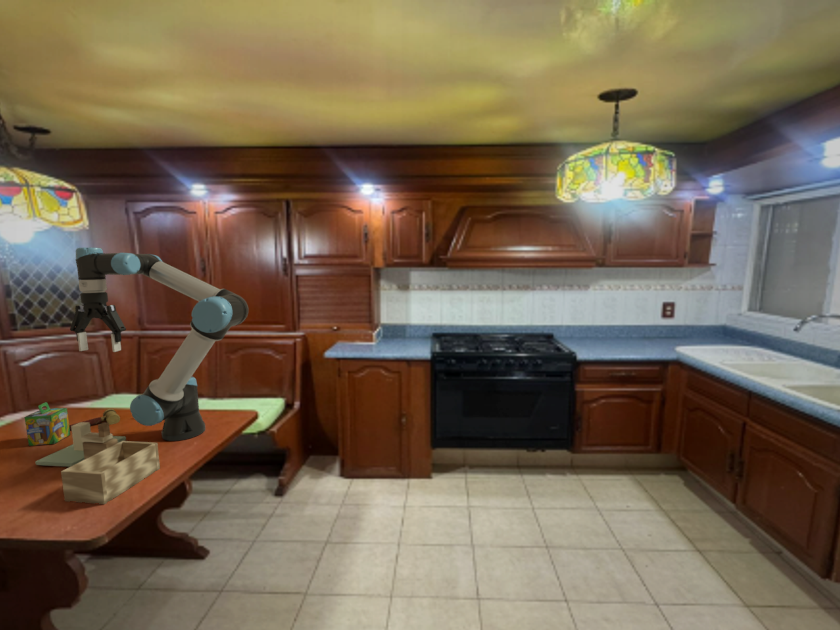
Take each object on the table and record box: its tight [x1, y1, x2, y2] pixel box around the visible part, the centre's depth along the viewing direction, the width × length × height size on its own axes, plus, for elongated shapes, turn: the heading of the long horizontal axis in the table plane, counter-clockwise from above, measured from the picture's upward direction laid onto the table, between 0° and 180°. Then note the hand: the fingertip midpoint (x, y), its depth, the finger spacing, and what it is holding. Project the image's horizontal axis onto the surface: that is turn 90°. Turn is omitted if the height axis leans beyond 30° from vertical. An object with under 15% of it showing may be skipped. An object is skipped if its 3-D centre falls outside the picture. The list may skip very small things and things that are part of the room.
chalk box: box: [23, 401, 71, 447], centre depth 154 cm, size 9×9×15 cm
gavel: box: [69, 408, 121, 432], centre depth 168 cm, size 21×5×10 cm
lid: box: [35, 421, 127, 468], centre depth 143 cm, size 21×14×11 cm, turn 173°
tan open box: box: [60, 439, 161, 505], centre depth 123 cm, size 20×22×10 cm
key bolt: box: [81, 422, 114, 443], centre depth 130 cm, size 4×8×6 cm, turn 82°
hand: (100, 350), depth 144 cm, fingers open, 13 cm apart
